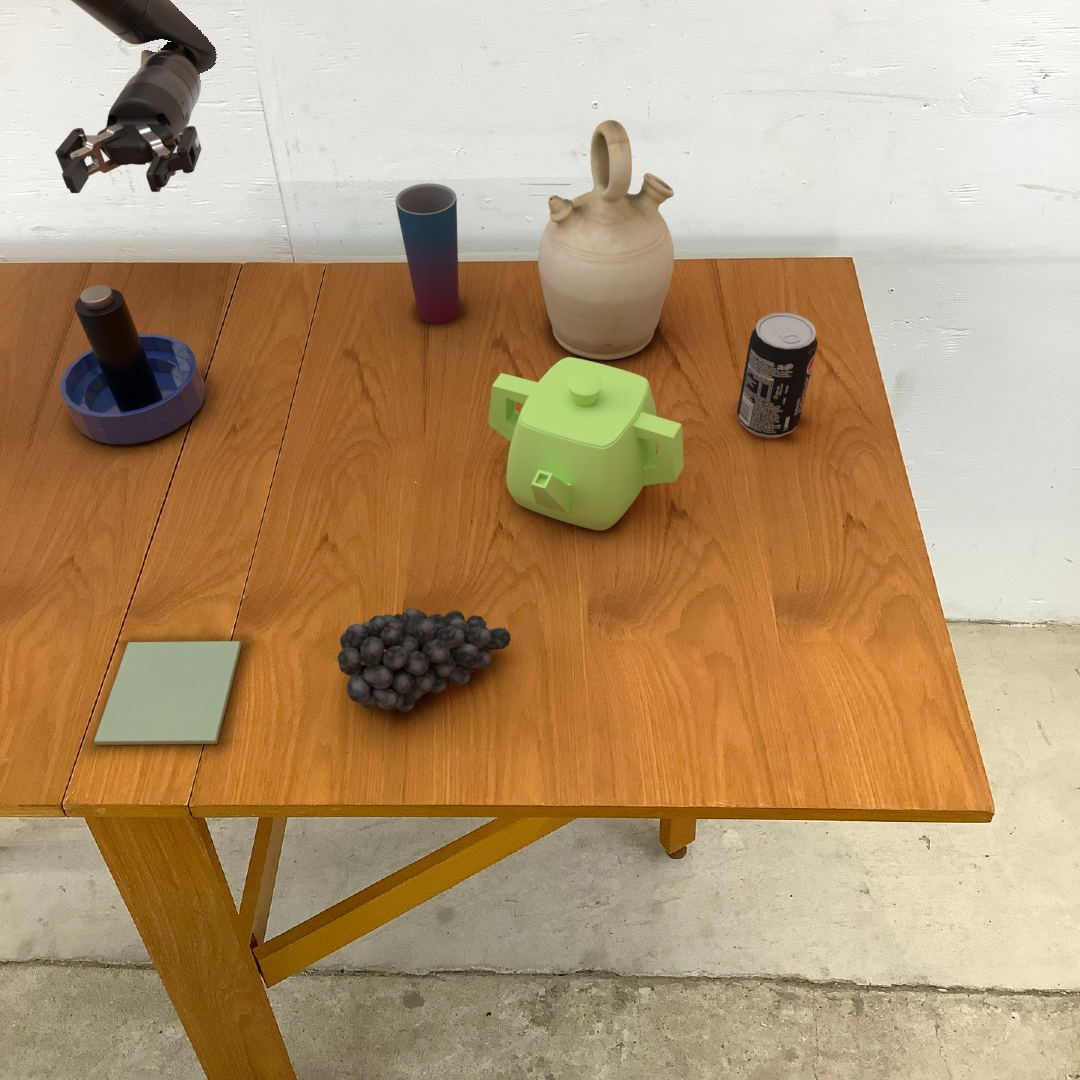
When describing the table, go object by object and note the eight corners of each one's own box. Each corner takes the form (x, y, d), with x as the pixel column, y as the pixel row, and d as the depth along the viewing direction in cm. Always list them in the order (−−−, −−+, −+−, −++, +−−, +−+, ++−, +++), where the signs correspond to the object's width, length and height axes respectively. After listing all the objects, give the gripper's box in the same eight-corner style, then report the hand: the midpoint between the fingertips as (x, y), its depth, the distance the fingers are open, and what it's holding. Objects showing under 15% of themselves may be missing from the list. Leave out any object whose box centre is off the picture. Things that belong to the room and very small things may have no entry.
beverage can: (783, 397, 108) (803, 305, 100) (808, 436, 104) (831, 344, 95) (726, 407, 108) (741, 315, 99) (750, 447, 103) (767, 355, 94)
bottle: (112, 415, 107) (63, 307, 97) (124, 387, 111) (79, 280, 100) (155, 415, 107) (112, 306, 97) (167, 386, 111) (126, 279, 100)
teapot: (634, 592, 90) (643, 493, 81) (444, 528, 96) (430, 427, 86) (699, 466, 101) (713, 365, 92) (524, 414, 107) (521, 314, 98)
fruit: (501, 568, 81) (318, 612, 77) (530, 661, 78) (341, 711, 74) (495, 605, 88) (328, 646, 85) (520, 691, 85) (349, 737, 82)
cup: (447, 289, 124) (435, 177, 112) (477, 314, 120) (468, 201, 109) (400, 308, 121) (384, 195, 110) (429, 335, 117) (415, 221, 106)
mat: (96, 745, 81) (93, 741, 80) (130, 645, 87) (127, 641, 87) (217, 744, 80) (215, 740, 80) (242, 644, 87) (240, 640, 87)
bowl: (57, 449, 105) (40, 417, 101) (97, 366, 114) (83, 334, 111) (189, 447, 105) (177, 415, 101) (219, 364, 114) (208, 332, 111)
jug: (662, 291, 122) (681, 89, 104) (671, 369, 112) (693, 160, 93) (540, 291, 123) (537, 90, 104) (537, 369, 112) (533, 161, 94)
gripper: (79, 81, 110) (29, 151, 100) (204, 79, 110) (168, 148, 99) (102, 146, 116) (57, 218, 105) (222, 143, 116) (189, 216, 105)
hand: (111, 184), depth 102 cm, fingers open, 8 cm apart
